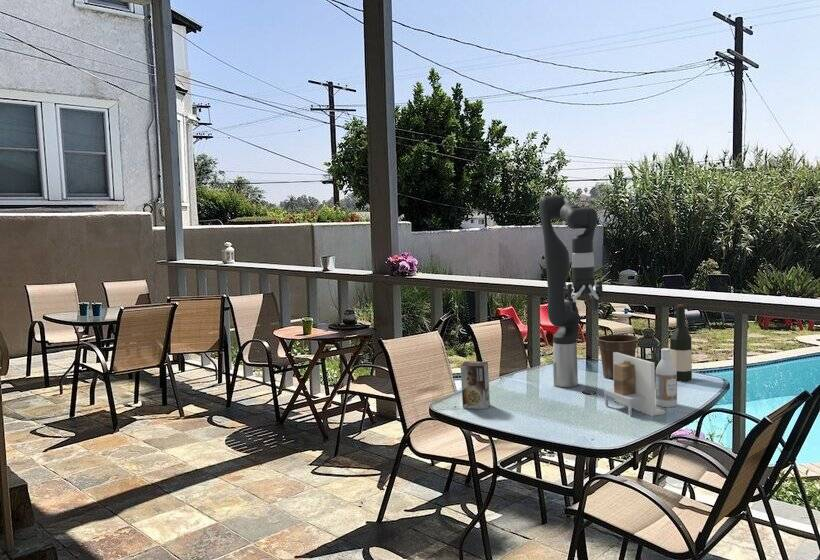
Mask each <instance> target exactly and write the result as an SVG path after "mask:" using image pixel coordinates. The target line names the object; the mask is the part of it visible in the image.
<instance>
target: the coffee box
mask: <svg viewBox="0 0 820 560" xmlns="http://www.w3.org/2000/svg"><path fill="white" fill-rule="evenodd" d="M459 367H460V378H461V394H462V396H461V401H462V409H477V410H479V409H482V410H486V409H488V408H489V407H490V405H491V402H490V401H491V400H490V383H489V381H490V380H489V379H490V378H489V361H466V360H465V361H464V362H462V364H460V366H459Z"/></svg>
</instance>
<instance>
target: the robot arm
mask: <svg viewBox="0 0 820 560" xmlns="http://www.w3.org/2000/svg"><path fill="white" fill-rule="evenodd" d="M538 207H539V215H540V222H541V228H542V235H543V245H544V246H543V247H544V259H545V270H546V278H547V279H546V280H547V281H546V282H547V315H548V319H549V322H550V323H551V325H553V327H557V328H558V329H557V331H556V332H555V333H554V334H553V336H552V347H553V348H552V349H553V350H552V351H553V363H552V368H553V370H552V373H553V375H552V376H553V386H554V387H560V388H572V387H576V386H578V385H579V376H578V375H579V371H578V341H577V340H578V336H579V331H580V329H579V328H580V323H579V322H580V314H579V309H578V306H577V300H578V298H579V297H580V296H581V295H582V296H583V295H589V296H590V298H591V310H593V311H597V310H598V308H599V299H600V298H603V297H604V291H603V282H602V280H599V279H597V280H596V279H595V257H594V236H595V235H594V234H595V231H596V227H597V223H598V218H599V217H598V212H597V210H596V209H595V208H593V207H581V206H580V205H576V204H574V203H573V202H572V201H571V200H570V199H569V197H567V196H566V195H564V194H563V195H562V194H557V195H546V196H542V197H540V199H539V206H538ZM559 219H561V220H562V221H564V222H565V223H566V225H567V228H569V229H572V230H573V229H574V230H577V229H584V231H583V233H581V234H578V235H575V236H572V238H571V250H572V253H571V261H570V254H569V250H568V249H567V247H566V245H565V244H564V243H563V241H562V240H561V238H559V236H558V235H557V233H556V232H555V230H554V228H553V224H552V220H559ZM570 269H571V276H572V277H571V278H572V282H571V283H568V282H567V280H568V278H569V274H570ZM594 279H595V280H594ZM594 287H595V289H594Z"/></svg>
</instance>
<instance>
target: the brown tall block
mask: <svg viewBox="0 0 820 560" xmlns="http://www.w3.org/2000/svg"><path fill="white" fill-rule="evenodd" d="M613 388H614V392H615V393H617V394H620V395H629V394H635V369H634V365H633V364H630V361H628V360H624V363H618V364H614V379H613Z"/></svg>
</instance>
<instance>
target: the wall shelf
mask: <svg viewBox="0 0 820 560" xmlns="http://www.w3.org/2000/svg"><path fill="white" fill-rule="evenodd" d="M624 360H628V361H630V364H633V365H634V369H635V394H629V395H620V394H617V393H615V392H614V387H611V388H606V389H603V394H604V406H605V405H606V406H608V407H609V397H611V398H613V402H615V401H616V402H615V403H617V402H618V404H620V405H622V404H623V405H622V406H625V405H626V406H625V407H627V406H628V407H627V408H628V409H627V410H628V411H627V412H628V415H630V416H629V417H632V416H633V410H635V409H636V411H638V412H640V411H641V413H643V414H645V413H646V415H648V416H650V415H651V417H654V416H658V415H659V416H660V415H664V414H665V413H666V411H665V410H664V409H661V408H659V407H657V406H656V375H655V372H656V367H655V362H653V361H650V360H645V359H643V358H640V357H636V356H635V357H632V356H629V355H625V354H622V353H618V352H613V374H614V364H618V363H624ZM606 406H605V407H606ZM632 408H634V409H632ZM628 415H627V416H628ZM631 415H632V416H631Z"/></svg>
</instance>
